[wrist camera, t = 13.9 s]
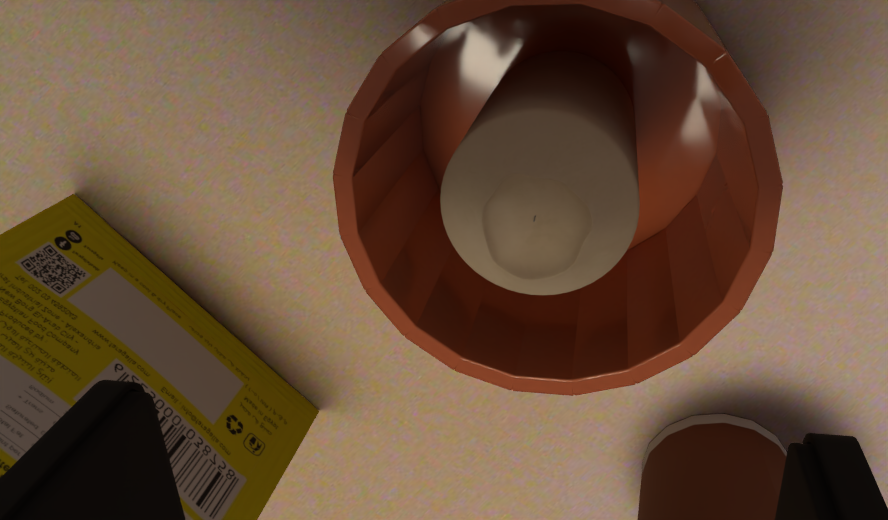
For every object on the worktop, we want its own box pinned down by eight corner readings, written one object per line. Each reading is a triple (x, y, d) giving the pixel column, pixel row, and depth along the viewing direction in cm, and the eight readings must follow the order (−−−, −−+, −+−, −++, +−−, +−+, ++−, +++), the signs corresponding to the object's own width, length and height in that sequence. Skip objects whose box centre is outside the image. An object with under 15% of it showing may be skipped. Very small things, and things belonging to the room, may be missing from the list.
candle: (471, 66, 28) (404, 147, 20) (622, 33, 27) (621, 105, 18) (504, 203, 31) (456, 331, 22) (645, 179, 29) (655, 307, 20)
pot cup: (419, 261, 33) (355, 379, 25) (398, -42, 28) (309, -13, 20) (717, 274, 31) (750, 410, 23) (755, -56, 25) (815, -29, 17)
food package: (69, 200, 36) (-474, 509, 18) (80, 185, 35) (-466, 487, 17) (313, 415, 38) (49, 870, 21) (326, 404, 38) (68, 859, 20)
